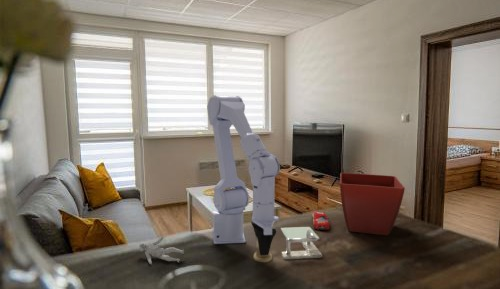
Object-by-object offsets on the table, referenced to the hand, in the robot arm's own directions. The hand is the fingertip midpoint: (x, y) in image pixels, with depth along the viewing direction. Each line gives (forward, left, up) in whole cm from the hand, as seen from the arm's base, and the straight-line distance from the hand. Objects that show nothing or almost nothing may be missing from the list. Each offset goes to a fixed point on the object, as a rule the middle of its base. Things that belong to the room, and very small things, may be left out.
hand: (262, 251), depth 85 cm
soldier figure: (-27, +3, -2) cm, 27 cm away
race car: (+24, +24, -2) cm, 34 cm away
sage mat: (+14, +16, -2) cm, 21 cm away
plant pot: (+39, +19, -2) cm, 44 cm away
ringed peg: (0, 0, -2) cm, 2 cm away
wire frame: (+11, +3, -2) cm, 11 cm away
